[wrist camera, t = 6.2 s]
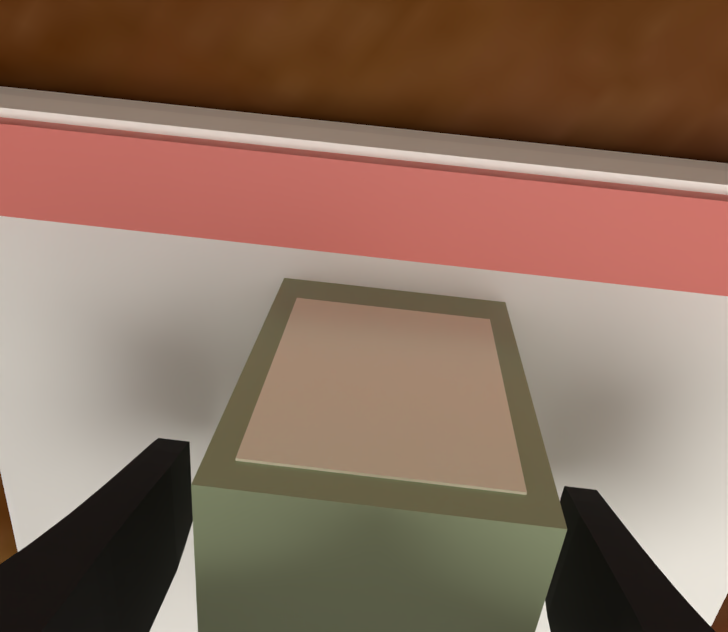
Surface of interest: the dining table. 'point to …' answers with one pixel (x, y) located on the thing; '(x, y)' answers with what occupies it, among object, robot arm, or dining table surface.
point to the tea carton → (377, 472)
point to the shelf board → (359, 268)
